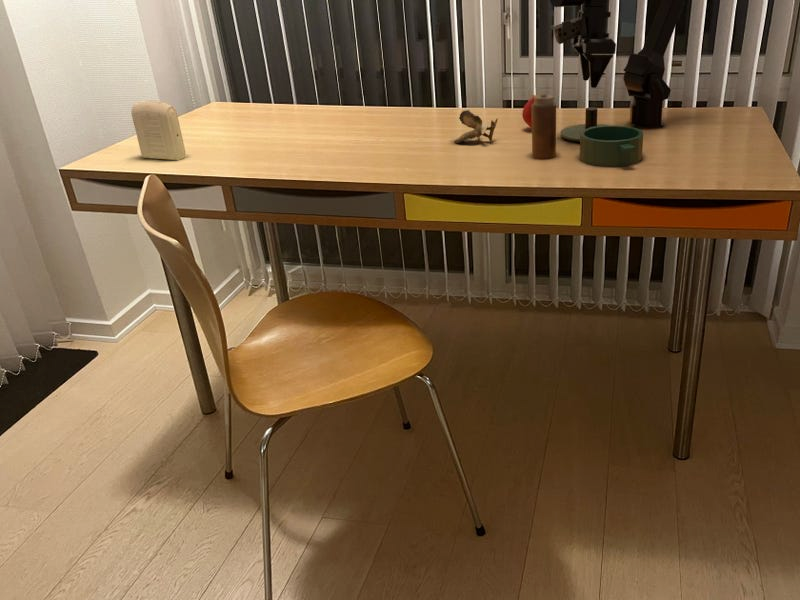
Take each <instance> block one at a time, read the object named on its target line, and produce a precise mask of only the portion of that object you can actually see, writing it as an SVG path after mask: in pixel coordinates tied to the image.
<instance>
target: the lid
mask: <svg viewBox="0 0 800 600" xmlns="http://www.w3.org/2000/svg"><path fill="white" fill-rule="evenodd" d="M584 114H585V116H584V118H585V119H584V120H585V121H584V124H576V125H575V124H574V125H570V126H567V127H564V128H562V129H561V130H560V136H561V137H562V138H563V139H566V140H568V141H573V142H579V143H580V132H582V131H583V130H585V129H588V128H589V127H595V126H608V125H609V124H602V123H598V108H597V107H586V108H585V113H584Z"/></svg>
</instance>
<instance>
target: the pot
mask: <svg viewBox="0 0 800 600" xmlns="http://www.w3.org/2000/svg"><path fill="white" fill-rule="evenodd" d="M607 125H608V126H595V127H589V128H588V129H585V130H583V131H582V132H580V142H579V159H580V161H581V162H583V163H585V164H589V165H591V166H599V167H623V166H630V165H634V164H636V163H638V162H640V161H641V160H642V158H643V149H644V148H643V147H644V131H642V130H641V129H640V128H635V127H634V126H628V125H614V124H613V125H611V124H607Z"/></svg>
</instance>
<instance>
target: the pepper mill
mask: <svg viewBox="0 0 800 600" xmlns="http://www.w3.org/2000/svg"><path fill="white" fill-rule="evenodd" d="M535 95H536V94H535ZM554 100H555V97H554V95H553V94H546V93H541V94H537V95H536V96H534V104H532V128H531V157H532V158H534V159H538V160H539V159H540V160H549V159H553V158H555V157H556V156H557V103H556V102H554Z"/></svg>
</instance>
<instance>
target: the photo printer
mask: <svg viewBox="0 0 800 600" xmlns="http://www.w3.org/2000/svg"><path fill="white" fill-rule="evenodd" d="M130 113H131V117H132V118H131V119H132V122H133V127H134V130H135V135H136V139H137V143H138V146H139V150H140V155H141V157H142V158H144V159H159V160H171V161H173V160H175V161H180V160H183V159H185V158H186V155H187V154H186V148H185V143H184V139H183V134H182V130H181V125H180V120H179V116H178V112H177V110H176V108H175V107H174V106H173V105H171V104H169V103H166V102H164V101H163V102H162V101H158V100H144V101H140V102H138V103H135V104H133V105H132V107H131V111H130Z"/></svg>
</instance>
